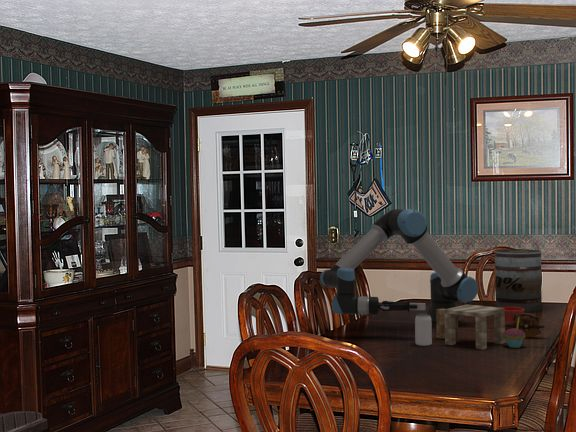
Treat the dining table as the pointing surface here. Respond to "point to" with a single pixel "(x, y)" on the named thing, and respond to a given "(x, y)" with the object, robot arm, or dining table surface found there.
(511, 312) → the flower pot
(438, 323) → the gate leg
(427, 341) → the can
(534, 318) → the wooden carving
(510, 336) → the cupcake
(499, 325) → the stool
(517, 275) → the barrel
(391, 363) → the dining table surface
